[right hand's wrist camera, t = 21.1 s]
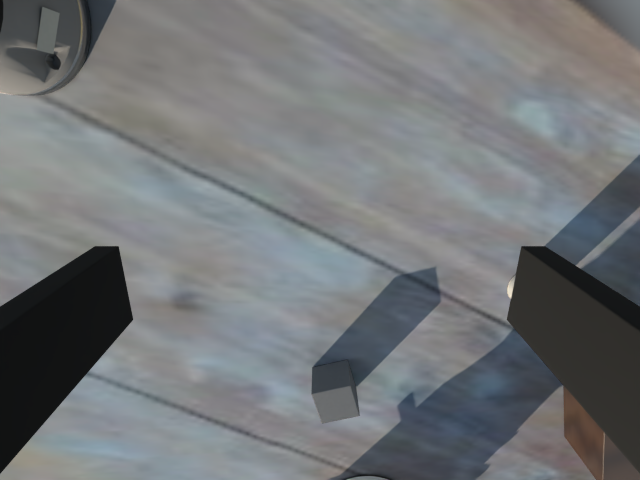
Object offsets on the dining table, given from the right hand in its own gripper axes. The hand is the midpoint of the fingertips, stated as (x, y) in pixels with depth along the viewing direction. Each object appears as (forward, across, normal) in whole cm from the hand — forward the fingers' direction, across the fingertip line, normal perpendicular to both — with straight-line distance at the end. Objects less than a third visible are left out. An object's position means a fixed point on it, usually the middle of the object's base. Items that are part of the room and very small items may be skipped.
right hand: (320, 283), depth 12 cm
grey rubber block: (+31, +2, -30) cm, 43 cm away
